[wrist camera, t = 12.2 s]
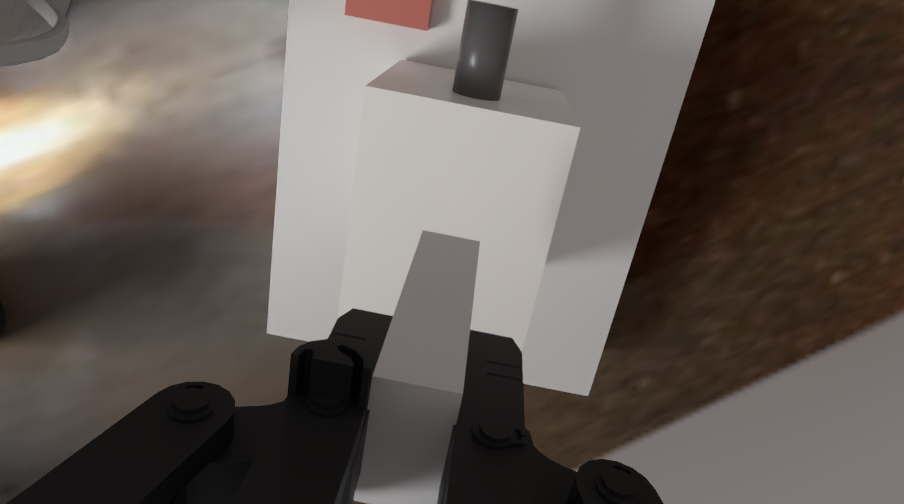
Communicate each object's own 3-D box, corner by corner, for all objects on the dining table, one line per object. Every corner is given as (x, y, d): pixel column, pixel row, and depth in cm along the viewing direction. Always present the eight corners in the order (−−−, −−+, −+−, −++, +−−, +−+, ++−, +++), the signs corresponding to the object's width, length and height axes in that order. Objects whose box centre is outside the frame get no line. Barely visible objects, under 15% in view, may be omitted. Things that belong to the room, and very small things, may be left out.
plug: (516, 235, 32) (521, 353, 22) (391, 210, 32) (337, 317, 22) (569, 12, 28) (606, 29, 18) (424, -16, 28) (377, -16, 18)
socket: (579, 352, 35) (590, 406, 30) (292, 296, 35) (260, 341, 30) (700, -47, 27) (739, -52, 22) (327, -119, 27) (291, -139, 22)
